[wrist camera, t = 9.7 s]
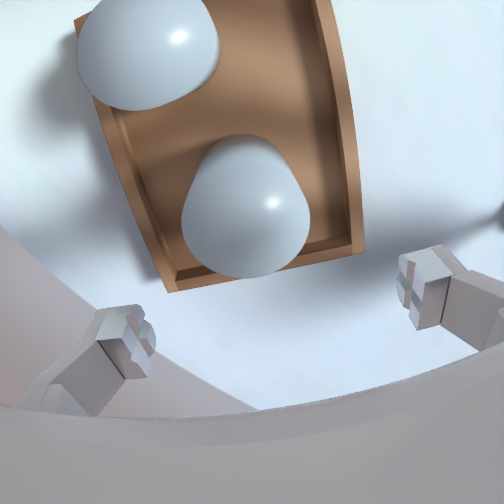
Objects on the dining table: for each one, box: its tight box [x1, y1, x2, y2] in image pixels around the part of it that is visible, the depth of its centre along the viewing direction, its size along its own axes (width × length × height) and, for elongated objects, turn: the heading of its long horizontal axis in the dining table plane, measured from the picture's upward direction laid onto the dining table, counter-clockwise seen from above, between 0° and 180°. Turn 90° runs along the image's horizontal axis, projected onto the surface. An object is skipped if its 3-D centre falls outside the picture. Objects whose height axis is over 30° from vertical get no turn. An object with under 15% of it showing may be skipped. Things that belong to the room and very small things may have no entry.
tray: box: [74, 0, 364, 293], centre depth 16 cm, size 18×13×2 cm
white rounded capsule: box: [76, 0, 221, 111], centre depth 11 cm, size 5×5×6 cm
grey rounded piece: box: [181, 134, 310, 278], centre depth 15 cm, size 5×5×6 cm
